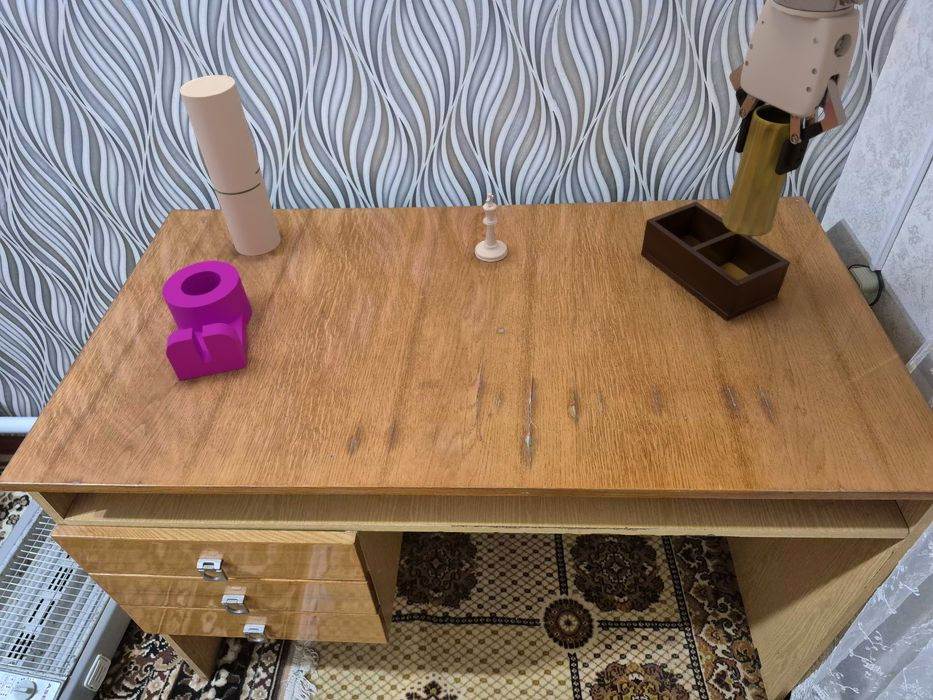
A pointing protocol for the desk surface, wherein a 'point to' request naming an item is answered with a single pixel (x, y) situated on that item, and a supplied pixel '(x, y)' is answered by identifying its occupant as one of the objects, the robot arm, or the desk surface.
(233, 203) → the cylindrical container
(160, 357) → the desk surface
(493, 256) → the chess piece
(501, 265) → the desk surface
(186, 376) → the magenta bearing bracket
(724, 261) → the brown compartment box
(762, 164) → the vase
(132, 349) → the desk surface
